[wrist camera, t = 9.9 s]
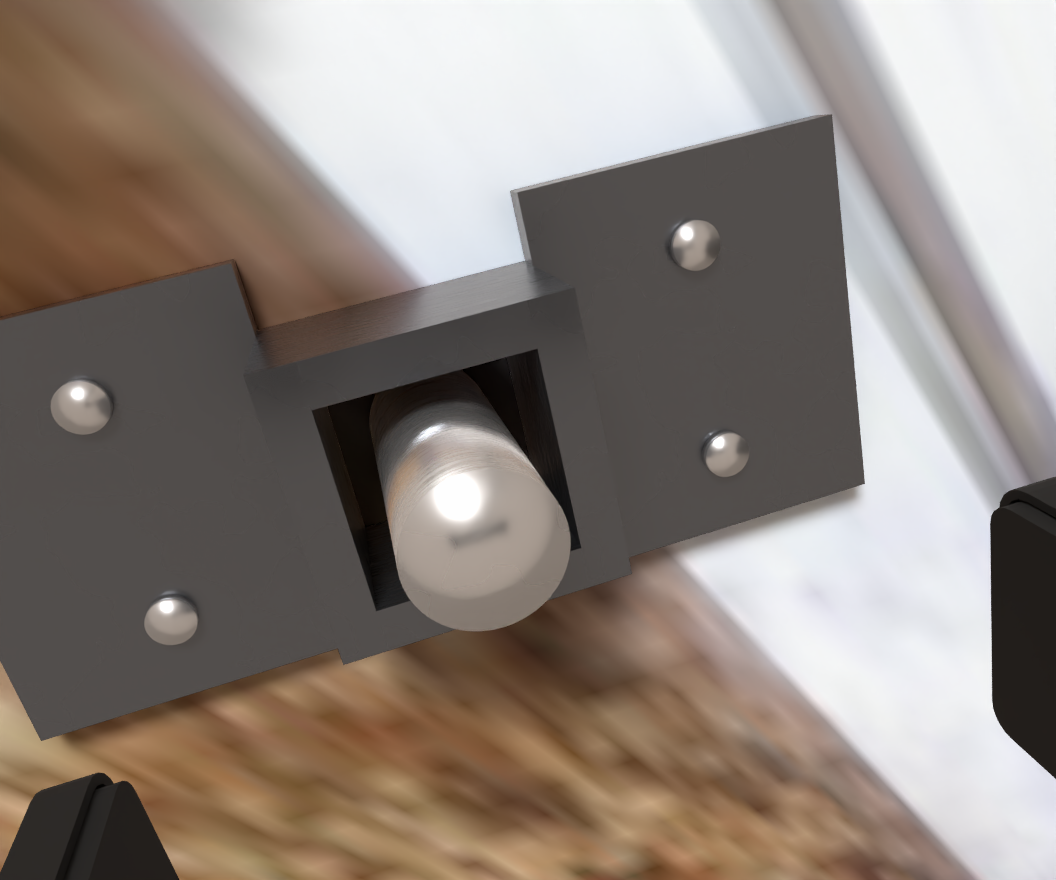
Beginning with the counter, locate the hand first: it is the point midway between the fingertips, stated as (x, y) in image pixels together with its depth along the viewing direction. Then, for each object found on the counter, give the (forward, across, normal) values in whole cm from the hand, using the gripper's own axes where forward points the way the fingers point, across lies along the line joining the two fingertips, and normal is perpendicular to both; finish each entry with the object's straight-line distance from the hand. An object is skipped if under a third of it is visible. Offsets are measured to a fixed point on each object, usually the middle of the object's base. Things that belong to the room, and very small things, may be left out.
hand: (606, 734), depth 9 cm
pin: (+14, +1, +1) cm, 14 cm away
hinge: (+14, +1, +1) cm, 14 cm away
